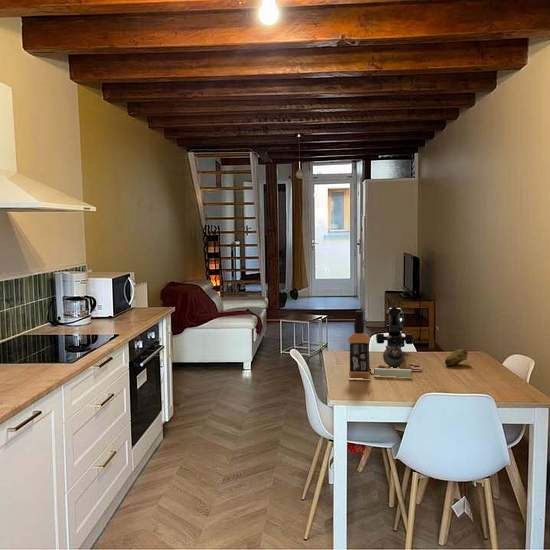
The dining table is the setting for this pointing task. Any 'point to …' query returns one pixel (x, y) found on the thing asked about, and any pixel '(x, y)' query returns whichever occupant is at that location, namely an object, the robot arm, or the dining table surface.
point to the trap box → (416, 366)
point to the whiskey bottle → (359, 350)
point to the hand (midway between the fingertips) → (394, 352)
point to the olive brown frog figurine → (456, 357)
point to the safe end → (393, 372)
